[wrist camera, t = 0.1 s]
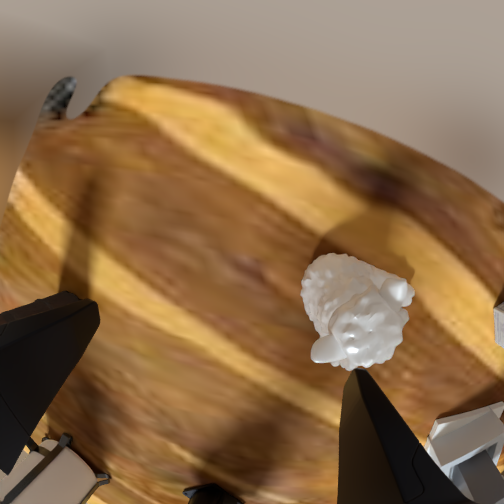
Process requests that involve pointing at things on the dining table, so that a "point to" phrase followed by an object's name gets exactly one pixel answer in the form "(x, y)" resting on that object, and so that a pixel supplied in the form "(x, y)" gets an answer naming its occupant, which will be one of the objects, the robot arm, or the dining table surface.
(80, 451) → the dining table surface
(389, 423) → the robot arm
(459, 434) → the raised dock
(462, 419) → the panel board
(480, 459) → the plug
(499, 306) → the medicine box
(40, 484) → the coffee press
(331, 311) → the white creature statuette
